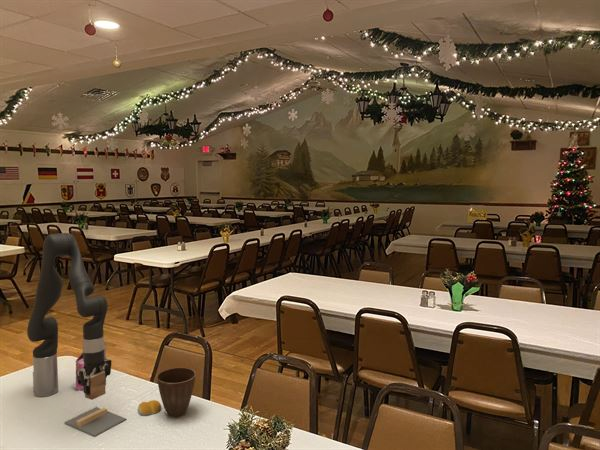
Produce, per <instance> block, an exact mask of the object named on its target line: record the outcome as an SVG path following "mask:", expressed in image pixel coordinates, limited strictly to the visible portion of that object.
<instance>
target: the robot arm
mask: <svg viewBox="0 0 600 450" xmlns="http://www.w3.org/2000/svg"><path fill="white" fill-rule="evenodd" d="M67 256H68V257H69V258H70V260H71V264H70V269H69V272H68V283H69V284H70V286H71V289H72V291H73V293H74V296H75V297H74V298H75V301H76V311H77V313H78V315H79V316H80V317H82V318H89V317H92V318H91V319H90V320H88V321H86V322H84V324H83V326H82V337H83V338H82V340H83V341H82V353H83V362H84V367H83V369H81V370H77V371H76V370H75V375H76V374H77V380H78V385H81V386H84V390H83V393H84V395H85V394H86V395H89V394H90V385H89V384H90V379H91V376H93V375H94V374H96V373H99V372H103V371H105V387H106V386H107V378H108V376H110V375H111V372H112V363H113V362H112V359H109V358H106V360H104V359H105V346H104V343H105V338H104V324H105V319H106V315H107V313H108V307H109V305H108V300H107V298H106V297H105V296H103V295H95V296H91V297H89V296H90V295H92V294H93V293H94V291H95V286H94V284H93V282H92V281H91V278H90V276H89V274H88V272H87V270H86V267H85V264H84V259H83V257H82V254H81V251H80V246H79V245H78V241H77V239H76V236H75V235H74V234H72V233H69V232H67V233H65V232H64V233H63V232H62V233H51V234H48V235H46V237H45V238H44V241H43V247H42V259H41V266H40V272H39V278H38V281H37V286H36V293H35V298H34V299H35V300H34V304H33V308H32V311H31V314H30V318H29V320H28V325H27V329H26V332H27V334H26V335H27V337H28V340H29V341H30V342H34V343H35V342H36V343H37V342H41V343H40V344H39V345H37V346H35V348H33V350H32V368H33V372H32V380H33V381H32V386H33V387H32V388H33V393H34V396H35V397H37V398H38V397H39V398H43V397H44V398H45V397H50V396H53V395H55V394H56V393H58V392H59V372H58V371H59V369H58V367H59V366H58V347H59V345H58V344H59V325H58V321H57V319H56V318H55V317H54V316H47V317H46V315H47V314H48V313H49V311H50V310H52V309H53V307H54V306H55V305H56V303H57V302H58V301H59V300H60V298H61V296H62V291H63V288H64V287H63V286H64V282H63V278H62V277H61V275H60V273H59V272H58V271H57V269H56V267H55V261H56V260H55V259H56V258H57V257H67ZM104 365H105V366H104ZM103 366H104V369H103ZM84 372H85V375H84ZM87 374H88V375H90V376H89V377H87V376H86V375H87ZM86 379H87V380H86Z"/></svg>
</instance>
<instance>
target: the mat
mask: <svg viewBox="0 0 600 450" xmlns="http://www.w3.org/2000/svg"><path fill="white" fill-rule="evenodd" d="M126 420H127V418H126V417H123V416H121V415H118V414H116V413H113V412H110V411H109V410H108V408H106V407H102V408H100V407H97V406H95V407H93V408H91V409H89V410H87V411H85V412H83V413H81V414H79V415H76V416H74V417H72V418H69V419H67V420H66V421H64V422H63V423H64V425H67V426H69V427H71V428H73V429H76V430H78V431H80V432H83V433H85V434H87V435H90V436H91V437H94V438H96V437H98V436H99V435H101V434H103V433H105V432H107V431H109V430H111V429H112V428H114V427H116V426H118V425H120V424H122V423H123V422H124V423H125V422H126Z"/></svg>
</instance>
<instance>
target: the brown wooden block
mask: <svg viewBox="0 0 600 450" xmlns="http://www.w3.org/2000/svg"><path fill="white" fill-rule="evenodd" d="M86 376H87V377H89V376H90V375H88V374H87V375H86ZM86 380H87V379H86ZM89 385H90V394H89V395H86V394H85V393H84V397H85V399H89V400H95V399H97V398H99V397H101V396H103V395H106V394H107V393H106V386H105V371H103V372H99V373H96V374H94V375H93V376H91V379H90V384H89Z"/></svg>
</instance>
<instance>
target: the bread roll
mask: <svg viewBox="0 0 600 450" xmlns="http://www.w3.org/2000/svg"><path fill="white" fill-rule="evenodd" d="M161 408H162V405H161V402H160V401H158V400H156V399H155V400H154V399H153V400H148V401H143V402H141V403H139V404H138V406H137V413H138V414H139V415H140V416H150V415H155V414H158V413H159V412H160V410H161Z"/></svg>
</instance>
